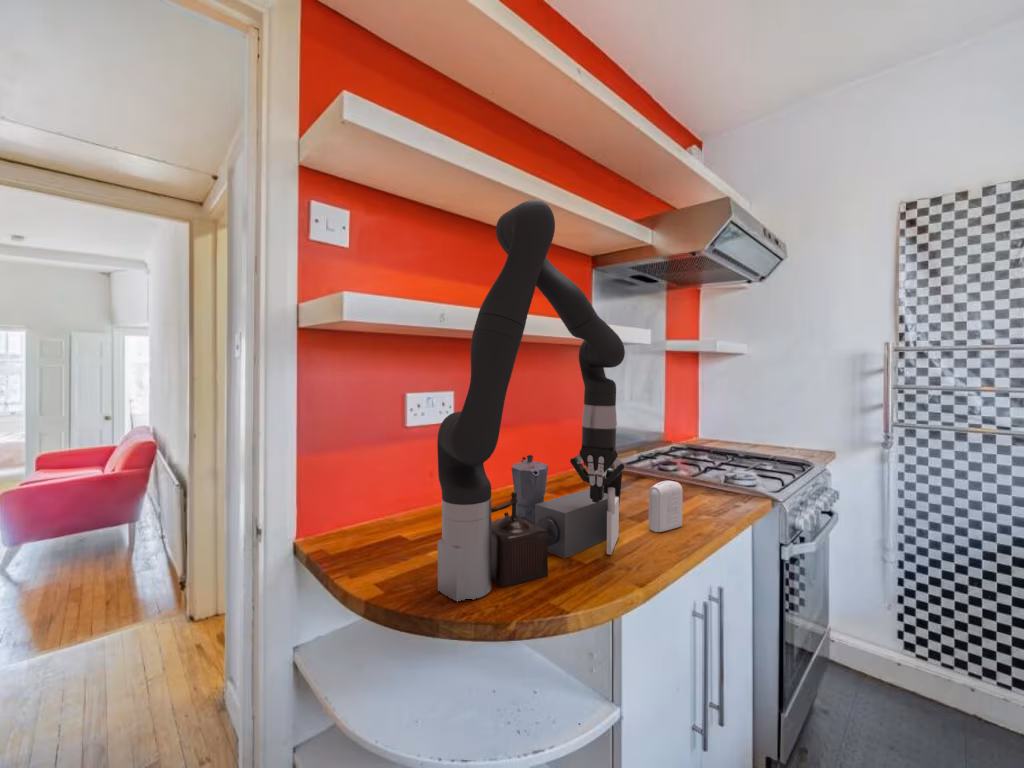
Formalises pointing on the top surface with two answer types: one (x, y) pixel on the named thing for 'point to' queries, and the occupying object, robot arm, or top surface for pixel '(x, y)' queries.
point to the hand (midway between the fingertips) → (596, 501)
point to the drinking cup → (614, 482)
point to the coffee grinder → (517, 548)
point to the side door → (612, 520)
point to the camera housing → (573, 522)
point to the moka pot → (529, 486)
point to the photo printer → (665, 506)
